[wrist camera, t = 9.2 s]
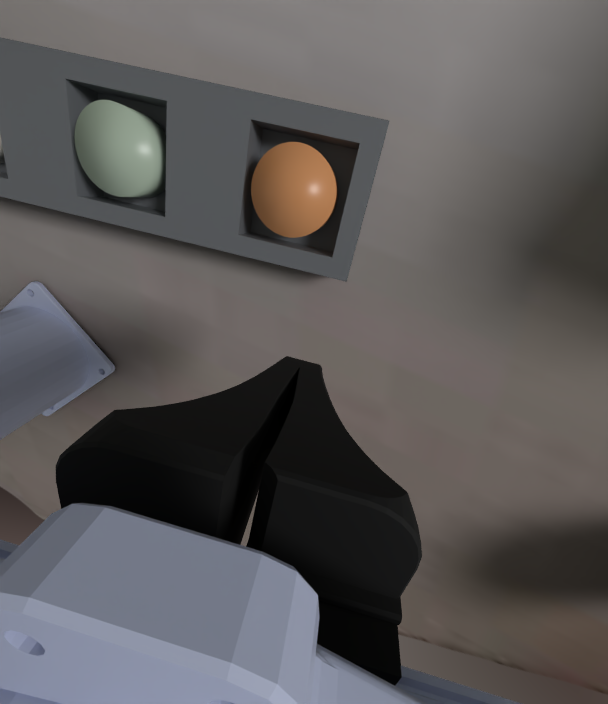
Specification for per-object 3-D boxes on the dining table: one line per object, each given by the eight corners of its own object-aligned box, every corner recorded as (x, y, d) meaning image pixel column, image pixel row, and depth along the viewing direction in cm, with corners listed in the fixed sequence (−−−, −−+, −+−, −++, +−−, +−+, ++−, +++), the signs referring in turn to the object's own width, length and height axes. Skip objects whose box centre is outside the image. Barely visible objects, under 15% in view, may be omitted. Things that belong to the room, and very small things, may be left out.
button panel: (-36, 178, 20) (-86, 175, 18) (-70, 34, 17) (-135, 8, 15) (348, 272, 19) (346, 281, 17) (385, 132, 16) (389, 120, 14)
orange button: (257, 225, 18) (246, 227, 16) (269, 141, 16) (257, 132, 14) (327, 241, 18) (324, 246, 16) (347, 158, 16) (345, 152, 14)
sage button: (106, 189, 18) (79, 187, 16) (101, 103, 17) (70, 91, 15) (172, 204, 18) (152, 204, 16) (174, 120, 16) (151, 109, 15)
